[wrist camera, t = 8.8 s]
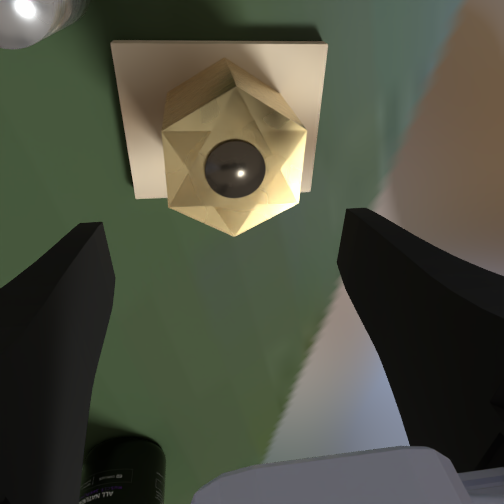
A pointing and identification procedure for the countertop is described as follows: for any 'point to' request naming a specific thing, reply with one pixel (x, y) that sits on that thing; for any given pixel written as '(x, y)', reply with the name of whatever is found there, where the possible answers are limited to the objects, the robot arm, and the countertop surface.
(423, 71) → the countertop surface
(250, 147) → the brass nut
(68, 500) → the robot arm
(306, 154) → the oak pad
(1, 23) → the steel spacers
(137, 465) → the supplement bottle
